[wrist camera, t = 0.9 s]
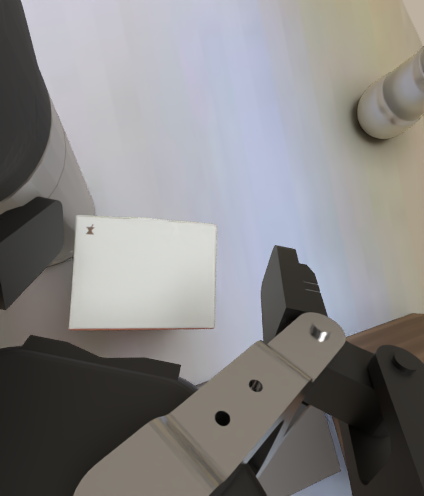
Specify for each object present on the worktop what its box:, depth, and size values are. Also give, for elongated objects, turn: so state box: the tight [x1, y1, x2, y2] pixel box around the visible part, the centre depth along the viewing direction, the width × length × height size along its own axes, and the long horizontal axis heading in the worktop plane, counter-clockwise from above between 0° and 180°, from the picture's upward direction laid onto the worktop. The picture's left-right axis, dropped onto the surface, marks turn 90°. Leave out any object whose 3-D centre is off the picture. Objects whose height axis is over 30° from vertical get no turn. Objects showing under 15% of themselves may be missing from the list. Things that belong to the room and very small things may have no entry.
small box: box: [69, 215, 217, 330], centre depth 25 cm, size 8×6×13 cm
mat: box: [196, 381, 341, 496], centre depth 31 cm, size 12×16×1 cm
